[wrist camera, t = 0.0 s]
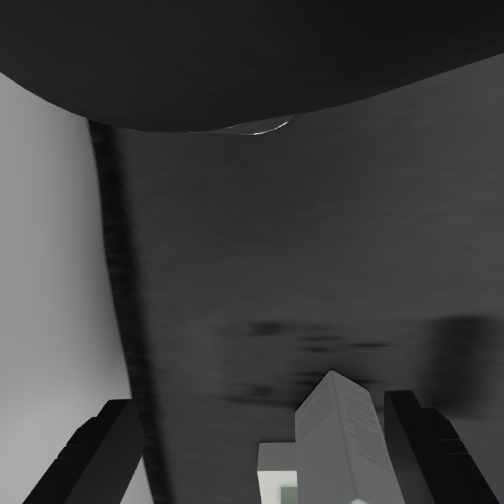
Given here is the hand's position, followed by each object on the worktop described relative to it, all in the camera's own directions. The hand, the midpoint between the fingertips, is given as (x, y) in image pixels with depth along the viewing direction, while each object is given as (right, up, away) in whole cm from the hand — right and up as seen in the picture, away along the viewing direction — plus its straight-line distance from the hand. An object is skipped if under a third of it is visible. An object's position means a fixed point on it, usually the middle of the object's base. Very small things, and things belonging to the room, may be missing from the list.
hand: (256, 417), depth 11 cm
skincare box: (+7, -8, +21) cm, 23 cm away
